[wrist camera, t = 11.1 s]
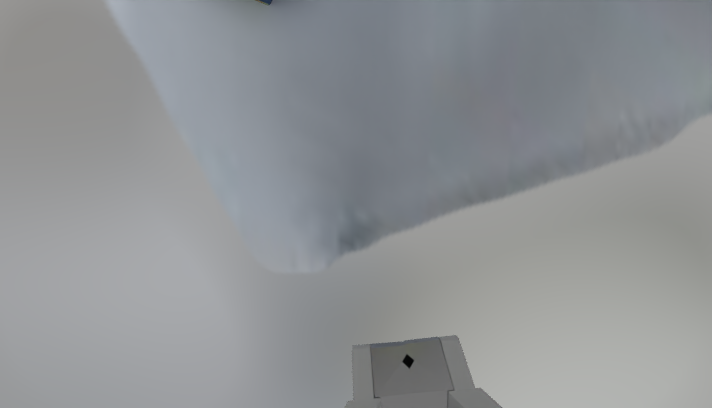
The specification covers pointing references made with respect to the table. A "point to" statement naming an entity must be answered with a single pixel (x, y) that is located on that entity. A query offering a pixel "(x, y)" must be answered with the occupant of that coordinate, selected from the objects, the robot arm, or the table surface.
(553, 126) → the table surface
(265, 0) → the protein box
